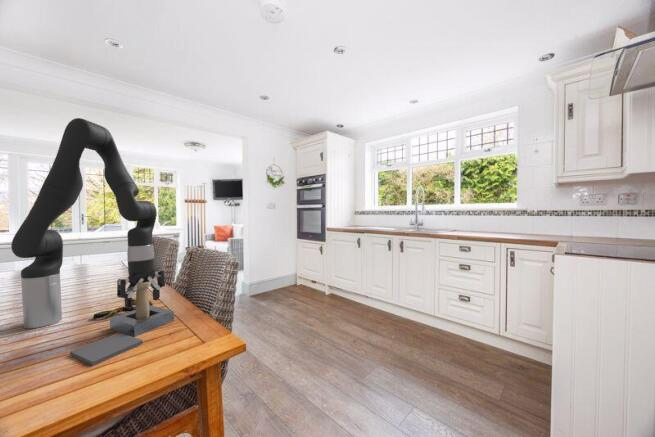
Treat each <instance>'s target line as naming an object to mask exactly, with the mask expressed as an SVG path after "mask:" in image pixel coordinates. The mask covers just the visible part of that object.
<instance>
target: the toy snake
mask: <svg viewBox="0 0 655 437" xmlns="http://www.w3.org/2000/svg"><path fill="white" fill-rule="evenodd" d="M132 302H133V308H132V309H127V308H126V307H125V306H121V307H118V308H115V309H112V310H103V311H99V312H96V313H94V314H93V316H92V317H93V319H95V320H97V319H102V318H108V317H111V316H113V315H116V314H120V313H122V312H131V311H134V310H136V298H135V299H134V298H132ZM149 305H151V306H154V303H153V302H152V301H151V300H149Z"/></svg>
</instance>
